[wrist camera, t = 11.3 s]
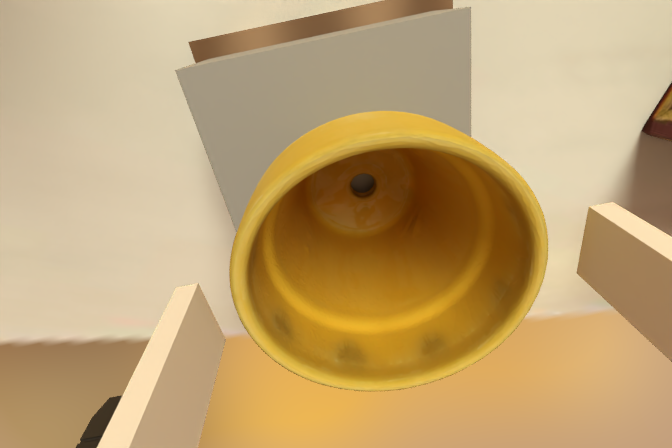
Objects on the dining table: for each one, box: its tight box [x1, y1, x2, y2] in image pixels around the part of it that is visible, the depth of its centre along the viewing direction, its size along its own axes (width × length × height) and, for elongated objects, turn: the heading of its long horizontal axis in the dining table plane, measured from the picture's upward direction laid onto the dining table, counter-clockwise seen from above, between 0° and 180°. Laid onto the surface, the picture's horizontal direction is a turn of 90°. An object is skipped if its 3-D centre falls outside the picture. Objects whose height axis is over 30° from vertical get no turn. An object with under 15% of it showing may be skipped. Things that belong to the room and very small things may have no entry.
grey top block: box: [175, 7, 471, 232], centre depth 23 cm, size 14×14×6 cm
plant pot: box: [230, 111, 548, 391], centre depth 16 cm, size 10×10×10 cm
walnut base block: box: [189, 0, 453, 63], centre depth 28 cm, size 16×16×6 cm
